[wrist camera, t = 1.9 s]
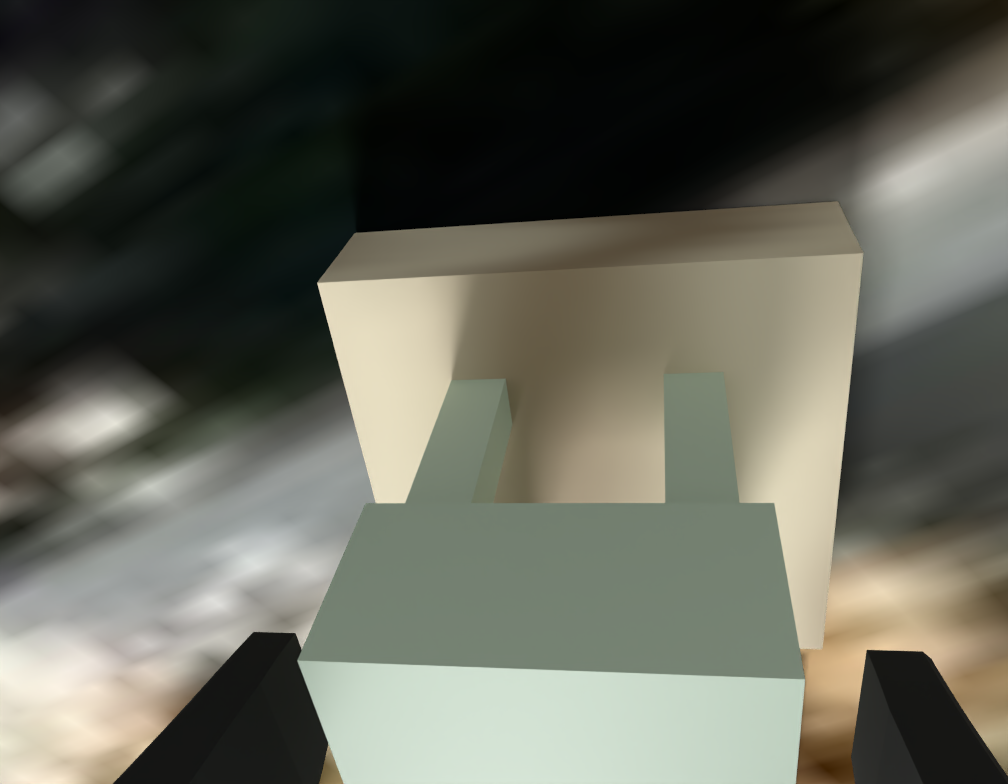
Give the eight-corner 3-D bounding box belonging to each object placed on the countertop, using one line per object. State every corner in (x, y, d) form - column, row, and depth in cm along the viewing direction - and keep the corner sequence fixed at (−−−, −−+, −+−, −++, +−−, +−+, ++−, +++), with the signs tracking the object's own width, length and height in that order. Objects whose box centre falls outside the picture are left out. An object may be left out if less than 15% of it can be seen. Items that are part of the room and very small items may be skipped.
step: (837, 201, 13) (863, 253, 12) (806, 572, 18) (822, 649, 16) (354, 232, 15) (317, 282, 13) (432, 567, 19) (411, 636, 17)
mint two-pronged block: (747, 351, 13) (805, 679, 8) (740, 590, 15) (780, 948, 10) (427, 362, 14) (296, 661, 9) (472, 585, 16) (392, 911, 11)
